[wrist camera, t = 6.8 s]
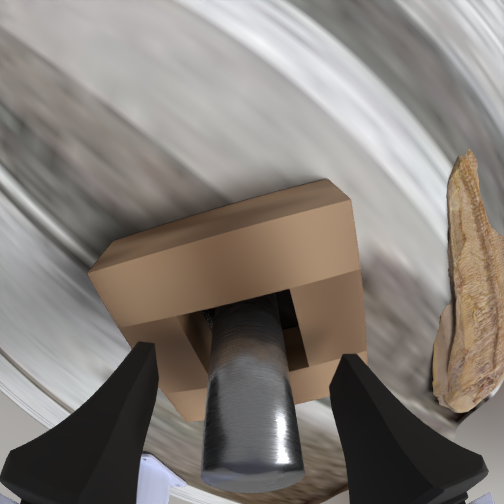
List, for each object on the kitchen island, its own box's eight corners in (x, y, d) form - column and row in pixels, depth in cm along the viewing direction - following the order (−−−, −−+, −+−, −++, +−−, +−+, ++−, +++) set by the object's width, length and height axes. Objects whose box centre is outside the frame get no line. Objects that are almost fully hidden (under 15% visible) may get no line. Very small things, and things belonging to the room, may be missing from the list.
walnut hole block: (191, 383, 18) (186, 421, 15) (113, 241, 13) (87, 273, 11) (352, 346, 17) (367, 384, 14) (327, 178, 13) (351, 199, 10)
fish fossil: (379, 187, 13) (391, 193, 12) (502, 111, 12) (516, 112, 11) (444, 420, 23) (449, 428, 22) (517, 362, 22) (523, 368, 21)
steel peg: (227, 331, 16) (221, 495, 8) (207, 285, 15) (182, 464, 7) (282, 318, 16) (310, 484, 8) (268, 270, 14) (295, 450, 6)
